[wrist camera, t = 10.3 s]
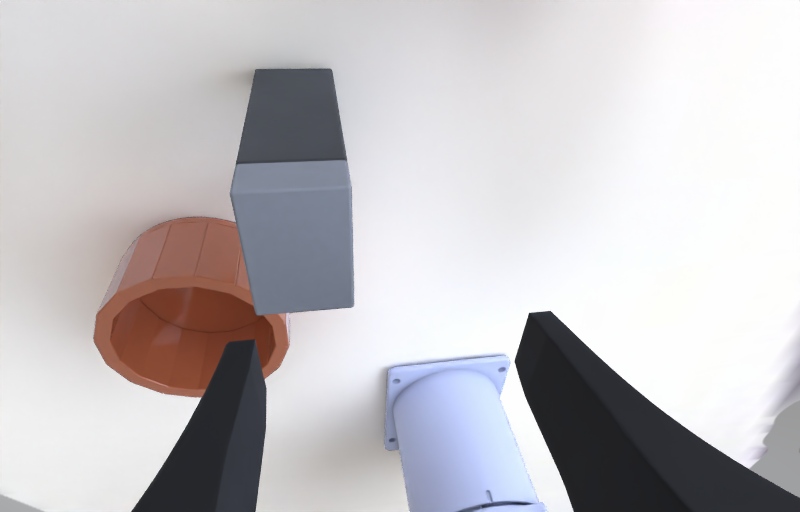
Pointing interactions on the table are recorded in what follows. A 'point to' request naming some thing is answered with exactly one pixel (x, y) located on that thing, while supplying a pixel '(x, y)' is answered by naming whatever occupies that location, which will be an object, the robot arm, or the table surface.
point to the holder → (183, 308)
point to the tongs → (294, 194)
